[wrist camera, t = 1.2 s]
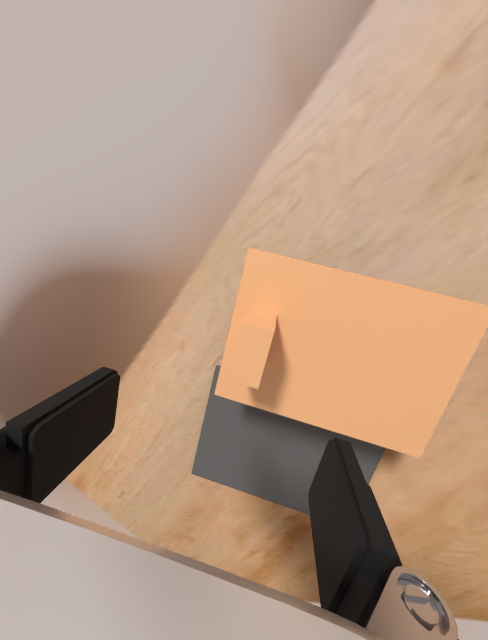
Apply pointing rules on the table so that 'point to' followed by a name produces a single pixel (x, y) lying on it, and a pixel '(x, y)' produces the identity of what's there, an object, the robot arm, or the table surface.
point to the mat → (267, 451)
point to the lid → (347, 350)
